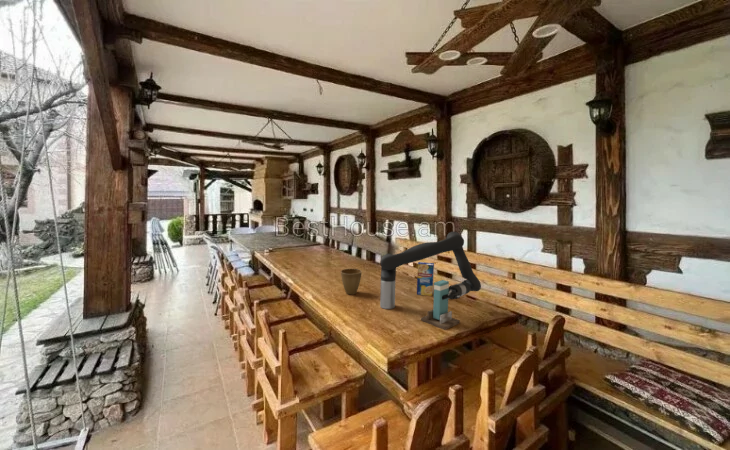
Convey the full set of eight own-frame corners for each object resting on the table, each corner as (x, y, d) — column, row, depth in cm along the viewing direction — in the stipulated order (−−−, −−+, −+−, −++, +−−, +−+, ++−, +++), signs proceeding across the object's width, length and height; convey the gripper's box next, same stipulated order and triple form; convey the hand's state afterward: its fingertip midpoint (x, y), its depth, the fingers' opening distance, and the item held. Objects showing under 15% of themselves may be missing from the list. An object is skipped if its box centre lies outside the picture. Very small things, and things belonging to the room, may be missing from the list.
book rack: (435, 314, 186) (436, 304, 185) (459, 323, 174) (460, 312, 173) (420, 320, 177) (421, 310, 176) (444, 330, 165) (445, 318, 164)
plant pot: (338, 291, 228) (338, 269, 227) (357, 289, 233) (357, 267, 232) (344, 297, 214) (344, 274, 213) (364, 295, 220) (364, 272, 218)
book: (441, 314, 179) (442, 279, 177) (447, 316, 176) (448, 281, 174) (433, 317, 174) (434, 282, 172) (439, 320, 171) (440, 284, 169)
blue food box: (432, 296, 220) (433, 265, 218) (416, 294, 223) (417, 264, 221) (433, 293, 226) (434, 263, 224) (417, 291, 229) (418, 262, 227)
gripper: (446, 281, 189) (428, 287, 178) (468, 287, 178) (450, 293, 167) (446, 293, 190) (428, 300, 178) (467, 300, 179) (449, 306, 168)
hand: (439, 296), depth 173 cm, fingers closed on book, 4 cm apart
